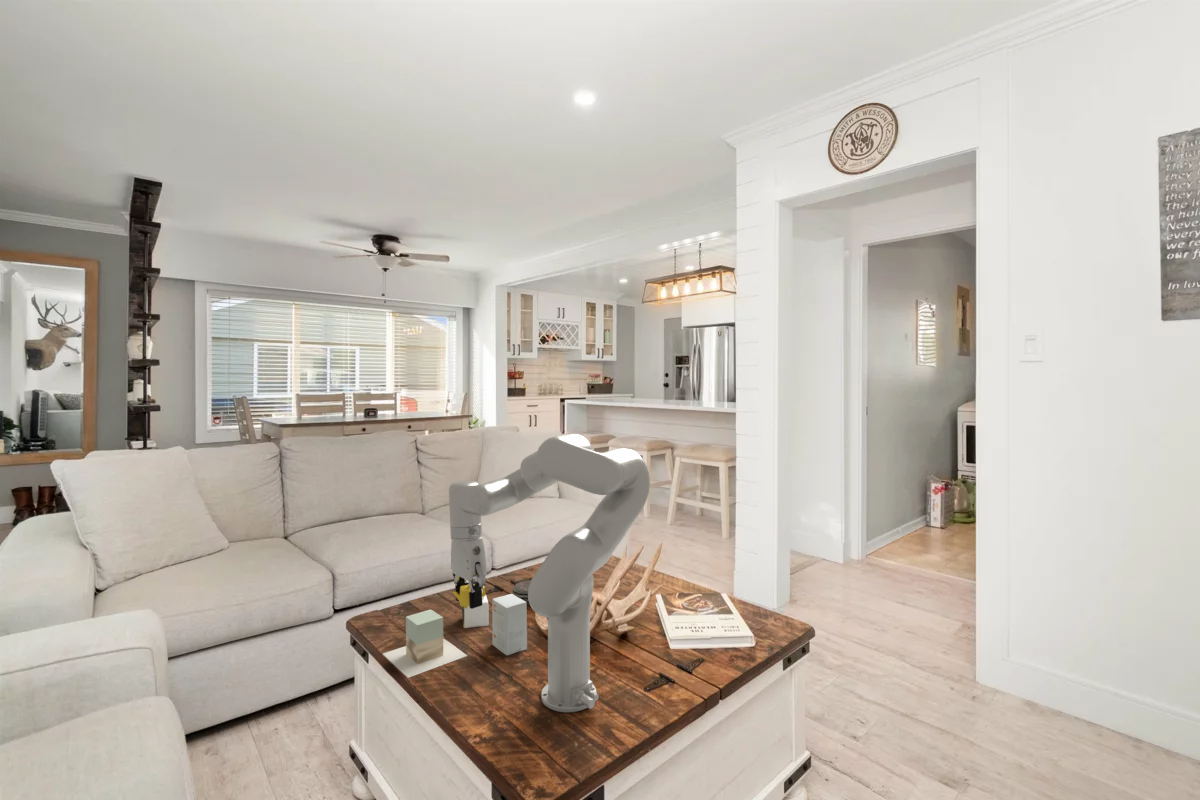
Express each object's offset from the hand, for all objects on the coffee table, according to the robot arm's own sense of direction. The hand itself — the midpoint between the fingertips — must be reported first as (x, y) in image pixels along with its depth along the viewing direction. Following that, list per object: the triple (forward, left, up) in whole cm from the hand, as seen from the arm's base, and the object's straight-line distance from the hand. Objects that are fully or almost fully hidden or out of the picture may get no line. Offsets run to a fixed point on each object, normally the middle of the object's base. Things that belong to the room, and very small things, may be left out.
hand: (468, 602), depth 139 cm
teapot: (0, 0, -1) cm, 1 cm away
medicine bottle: (+23, -15, -17) cm, 32 cm away
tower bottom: (+14, +5, -17) cm, 22 cm away
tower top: (+14, +5, -12) cm, 19 cm away
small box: (+3, -14, -17) cm, 22 cm away
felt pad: (+14, +5, -17) cm, 22 cm away
